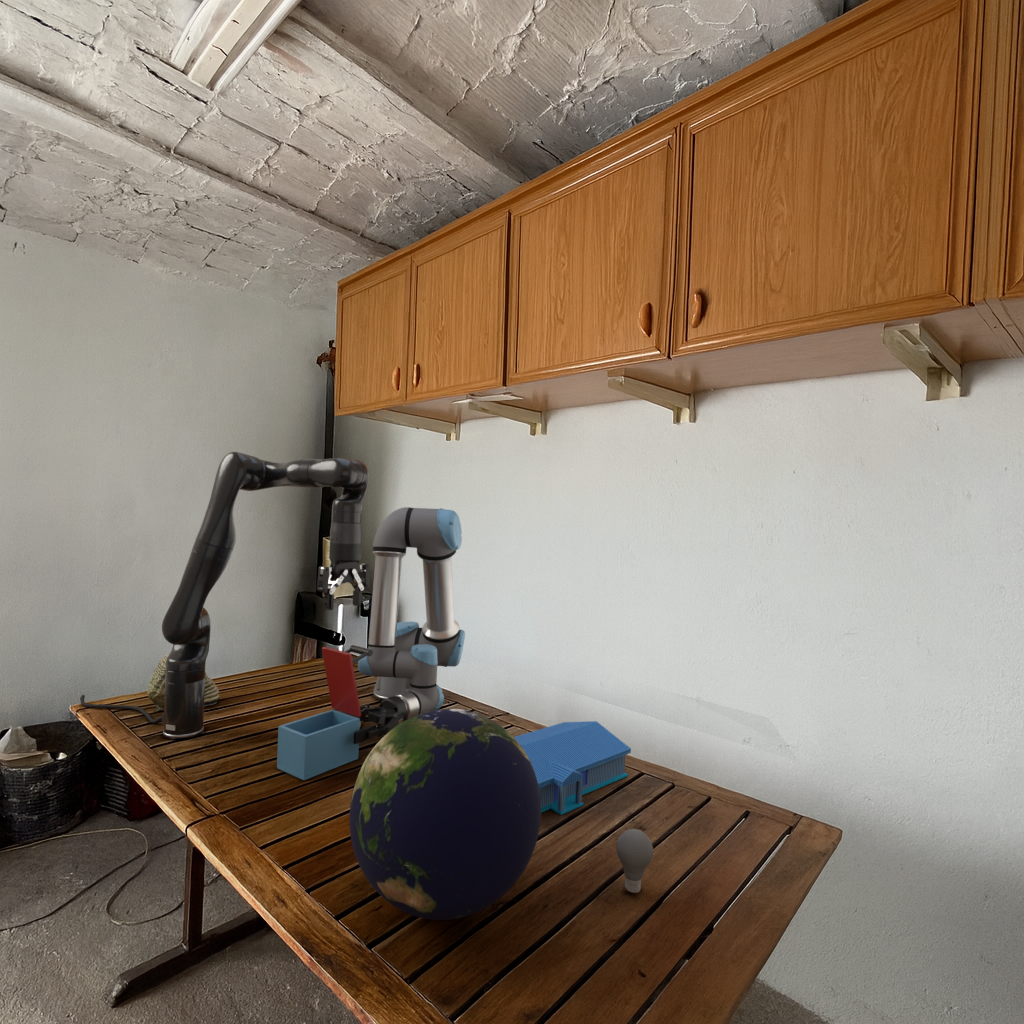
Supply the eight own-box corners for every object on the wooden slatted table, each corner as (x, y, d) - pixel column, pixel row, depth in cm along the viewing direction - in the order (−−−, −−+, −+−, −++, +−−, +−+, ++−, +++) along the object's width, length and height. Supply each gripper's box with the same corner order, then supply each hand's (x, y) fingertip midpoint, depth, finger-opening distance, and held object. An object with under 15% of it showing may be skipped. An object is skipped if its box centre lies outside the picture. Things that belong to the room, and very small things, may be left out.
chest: (303, 780, 141) (305, 736, 141) (276, 768, 146) (278, 726, 146) (358, 758, 154) (360, 718, 154) (331, 748, 159) (333, 709, 159)
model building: (516, 834, 122) (519, 783, 122) (441, 787, 140) (443, 743, 140) (639, 780, 148) (641, 738, 148) (562, 747, 166) (564, 709, 166)
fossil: (144, 707, 182) (145, 655, 182) (212, 696, 194) (213, 647, 194) (151, 716, 175) (153, 662, 175) (221, 703, 188) (223, 653, 188)
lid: (348, 654, 150) (375, 640, 157) (321, 647, 155) (348, 634, 162) (358, 717, 153) (384, 700, 160) (331, 708, 159) (358, 692, 166)
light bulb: (610, 879, 108) (613, 822, 108) (644, 879, 109) (647, 822, 109) (619, 902, 102) (622, 840, 102) (655, 901, 103) (658, 840, 103)
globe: (303, 931, 92) (311, 727, 92) (410, 834, 120) (417, 677, 120) (490, 1000, 81) (500, 768, 81) (561, 876, 109) (569, 702, 108)
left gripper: (332, 543, 146) (329, 613, 146) (378, 541, 158) (375, 606, 158) (311, 540, 150) (309, 609, 150) (357, 539, 162) (355, 602, 162)
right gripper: (432, 734, 165) (370, 760, 147) (365, 712, 179) (302, 733, 161) (433, 705, 164) (372, 728, 147) (367, 686, 178) (303, 704, 161)
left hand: (343, 607), depth 154 cm, fingers open, 8 cm apart
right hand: (335, 731), depth 154 cm, fingers open, 13 cm apart
